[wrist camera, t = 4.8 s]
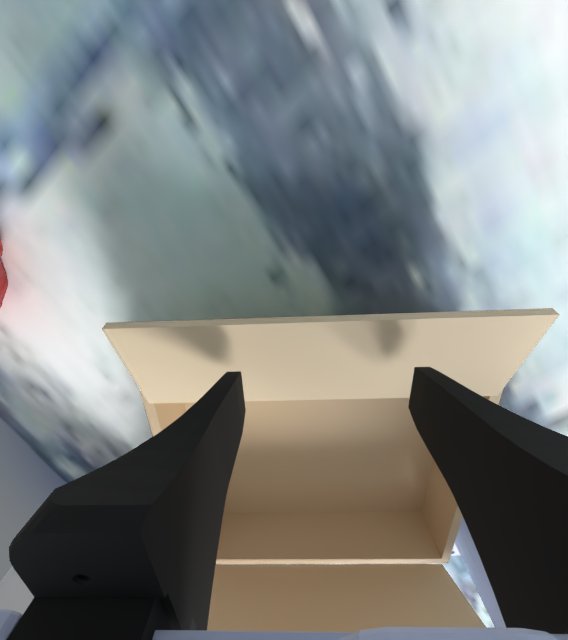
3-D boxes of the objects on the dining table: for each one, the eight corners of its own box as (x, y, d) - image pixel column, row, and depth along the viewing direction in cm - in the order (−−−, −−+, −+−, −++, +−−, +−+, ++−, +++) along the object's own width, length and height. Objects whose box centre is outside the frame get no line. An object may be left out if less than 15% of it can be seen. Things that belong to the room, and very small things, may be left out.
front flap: (497, 395, 15) (493, 389, 15) (559, 314, 11) (552, 308, 11) (148, 403, 15) (151, 397, 16) (101, 329, 12) (106, 322, 12)
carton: (462, 347, 19) (505, 382, 15) (425, 510, 25) (448, 563, 22) (168, 355, 19) (140, 391, 16) (204, 512, 26) (190, 563, 22)
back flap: (197, 564, 22) (197, 570, 22) (164, 635, 16) (164, 643, 16) (441, 564, 21) (442, 570, 21) (493, 637, 16) (494, 645, 16)
